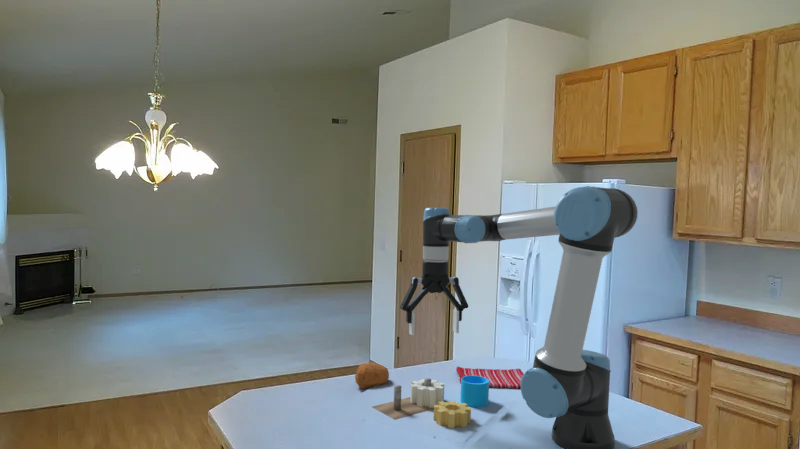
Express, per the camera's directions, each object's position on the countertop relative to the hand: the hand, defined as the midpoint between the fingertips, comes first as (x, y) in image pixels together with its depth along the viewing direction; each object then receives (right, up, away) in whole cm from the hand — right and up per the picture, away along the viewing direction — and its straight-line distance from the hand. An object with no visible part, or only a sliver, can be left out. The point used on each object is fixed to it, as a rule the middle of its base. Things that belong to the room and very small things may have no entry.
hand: (434, 333), depth 161 cm
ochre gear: (+4, -22, -13) cm, 26 cm away
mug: (+12, -22, +3) cm, 25 cm away
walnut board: (-6, -22, -3) cm, 23 cm away
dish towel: (+21, -22, +27) cm, 41 cm away
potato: (-19, -21, +17) cm, 33 cm away
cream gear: (-2, -20, +1) cm, 20 cm away
